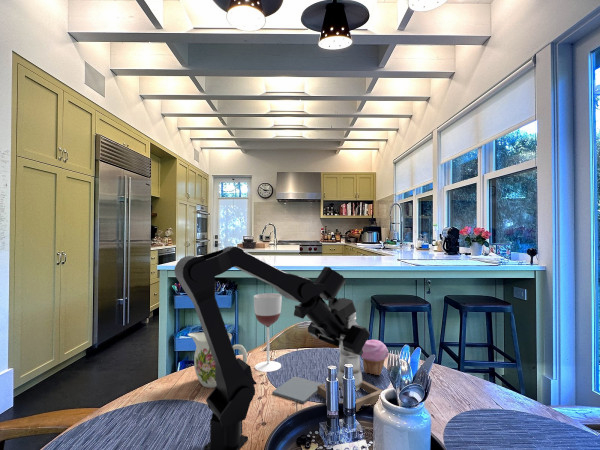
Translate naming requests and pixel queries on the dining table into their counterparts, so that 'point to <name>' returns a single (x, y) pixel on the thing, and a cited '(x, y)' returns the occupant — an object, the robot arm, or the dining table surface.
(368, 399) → the caddy frame
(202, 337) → the pitcher
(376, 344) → the cupcake
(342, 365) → the plastic bottle
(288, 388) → the slate mat
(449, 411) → the dining table surface
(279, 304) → the wineglass
